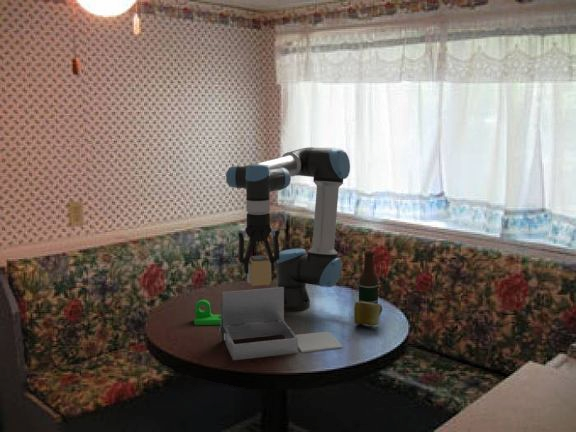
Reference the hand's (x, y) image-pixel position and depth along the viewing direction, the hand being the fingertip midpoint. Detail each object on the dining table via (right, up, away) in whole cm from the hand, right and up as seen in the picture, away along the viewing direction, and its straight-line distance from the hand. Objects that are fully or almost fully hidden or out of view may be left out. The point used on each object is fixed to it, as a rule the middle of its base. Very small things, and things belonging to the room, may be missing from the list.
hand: (259, 281), depth 190 cm
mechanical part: (-19, -19, +27) cm, 38 cm away
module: (0, 0, 0) cm, 0 cm away
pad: (+19, -21, +7) cm, 29 cm away
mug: (+39, -19, +19) cm, 48 cm away
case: (0, -22, +4) cm, 22 cm away
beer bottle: (+41, -16, +38) cm, 59 cm away
